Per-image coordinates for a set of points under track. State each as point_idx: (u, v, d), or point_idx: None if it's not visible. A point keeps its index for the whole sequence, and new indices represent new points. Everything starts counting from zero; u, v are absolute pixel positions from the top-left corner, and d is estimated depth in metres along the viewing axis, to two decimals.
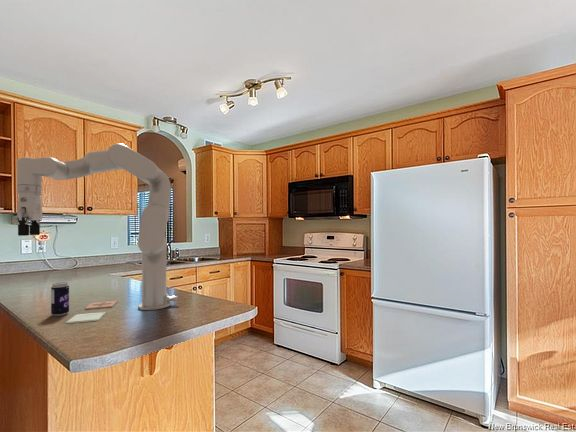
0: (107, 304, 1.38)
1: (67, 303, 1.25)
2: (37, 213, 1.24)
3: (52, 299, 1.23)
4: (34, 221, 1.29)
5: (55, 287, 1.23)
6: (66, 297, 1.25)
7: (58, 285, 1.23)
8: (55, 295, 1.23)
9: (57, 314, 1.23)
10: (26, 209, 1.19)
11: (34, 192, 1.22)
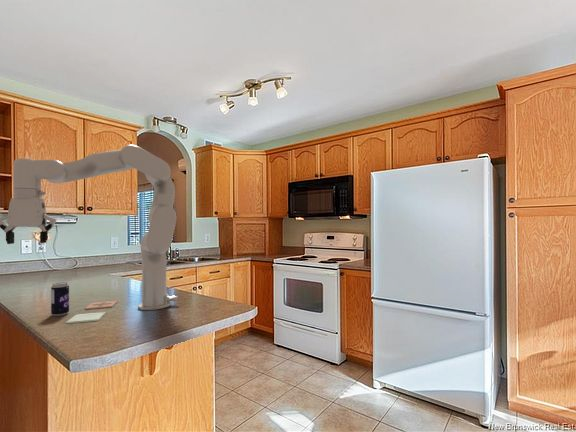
0: (107, 304, 1.38)
1: (67, 303, 1.25)
2: None
3: (52, 299, 1.23)
4: None
5: (55, 287, 1.23)
6: (66, 297, 1.25)
7: (58, 285, 1.23)
8: (55, 295, 1.23)
9: (57, 314, 1.23)
10: None
11: None
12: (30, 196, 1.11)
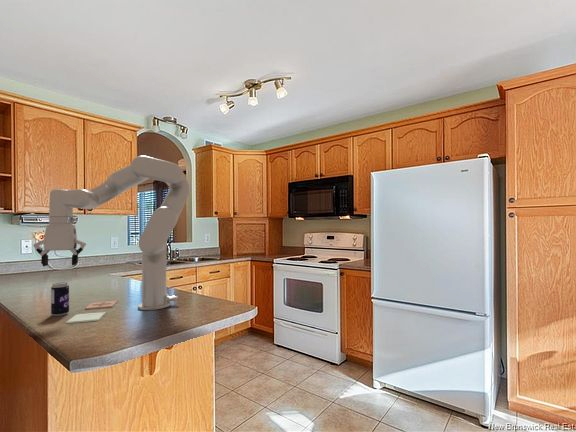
0: (107, 304, 1.38)
1: (67, 303, 1.25)
2: None
3: (52, 299, 1.23)
4: None
5: (55, 287, 1.23)
6: (66, 297, 1.25)
7: (58, 285, 1.23)
8: (55, 295, 1.23)
9: (57, 314, 1.23)
10: None
11: None
12: (64, 223, 1.24)
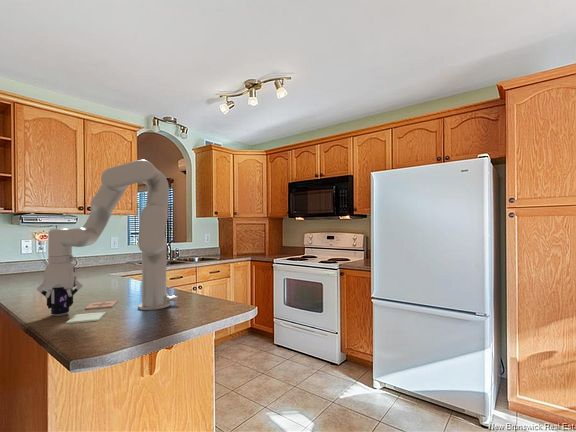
0: (107, 304, 1.38)
1: None
2: None
3: (52, 299, 1.23)
4: None
5: (55, 287, 1.23)
6: (66, 297, 1.25)
7: (58, 285, 1.23)
8: (55, 295, 1.23)
9: (57, 314, 1.23)
10: (75, 278, 1.28)
11: None
12: (63, 263, 1.23)
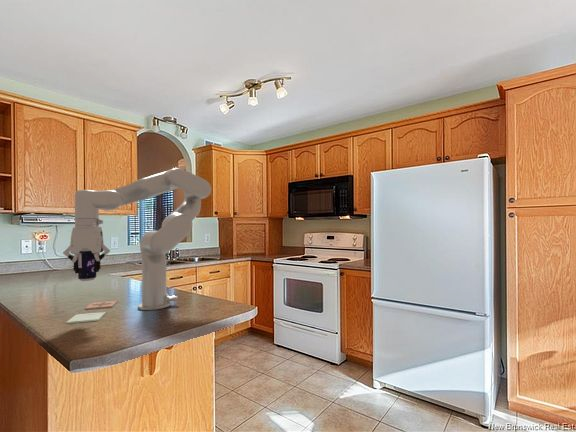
0: (107, 304, 1.38)
1: None
2: None
3: (79, 263, 1.17)
4: None
5: (82, 250, 1.17)
6: None
7: (85, 249, 1.17)
8: (82, 259, 1.17)
9: (85, 279, 1.17)
10: (102, 243, 1.22)
11: None
12: (91, 225, 1.18)
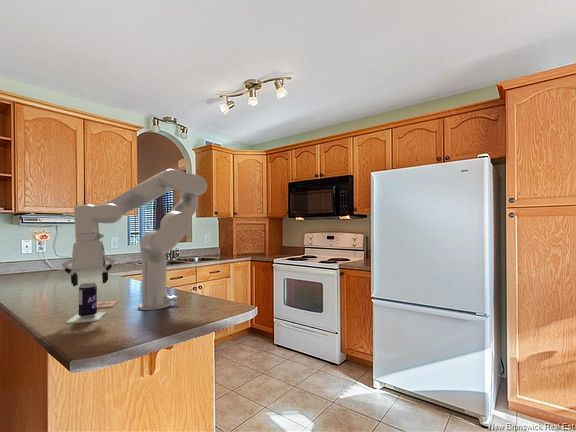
0: (107, 304, 1.38)
1: (95, 304, 1.19)
2: None
3: (80, 300, 1.17)
4: None
5: (83, 287, 1.17)
6: (94, 298, 1.19)
7: (86, 285, 1.17)
8: (83, 296, 1.17)
9: (85, 316, 1.17)
10: None
11: None
12: (91, 240, 1.18)
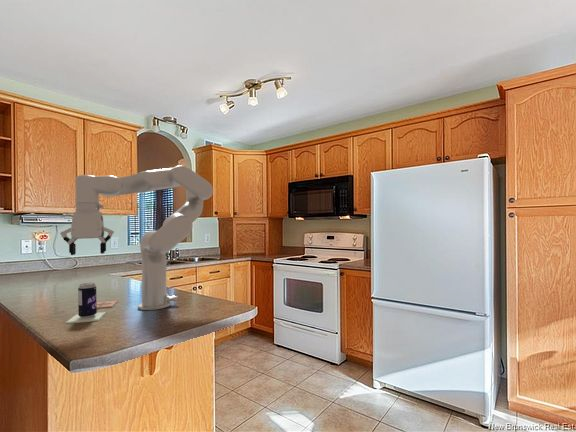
0: (107, 304, 1.38)
1: (95, 304, 1.19)
2: None
3: (80, 300, 1.17)
4: None
5: (83, 288, 1.17)
6: (94, 299, 1.19)
7: (86, 286, 1.17)
8: (83, 297, 1.16)
9: (85, 316, 1.17)
10: None
11: None
12: (91, 210, 1.19)
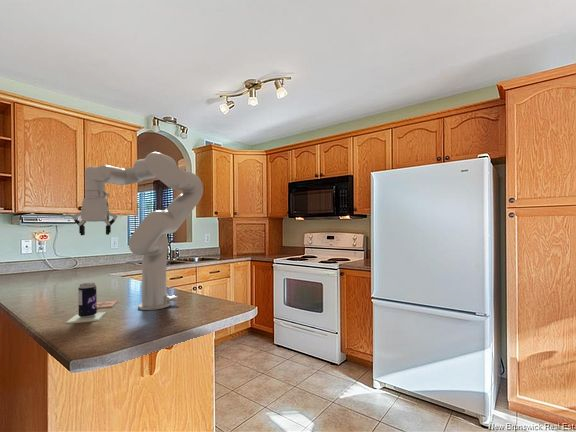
0: (107, 304, 1.38)
1: (95, 304, 1.19)
2: None
3: (80, 300, 1.17)
4: None
5: (83, 288, 1.17)
6: (94, 298, 1.19)
7: (86, 285, 1.17)
8: (83, 296, 1.17)
9: (85, 316, 1.17)
10: None
11: None
12: (98, 197, 1.38)
